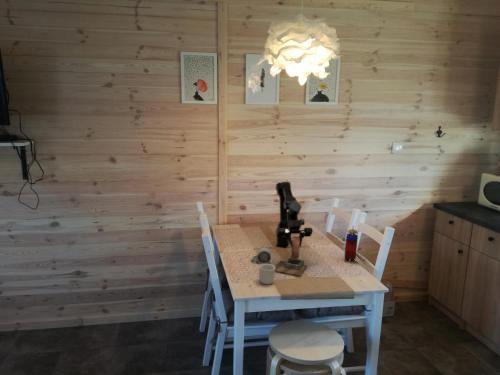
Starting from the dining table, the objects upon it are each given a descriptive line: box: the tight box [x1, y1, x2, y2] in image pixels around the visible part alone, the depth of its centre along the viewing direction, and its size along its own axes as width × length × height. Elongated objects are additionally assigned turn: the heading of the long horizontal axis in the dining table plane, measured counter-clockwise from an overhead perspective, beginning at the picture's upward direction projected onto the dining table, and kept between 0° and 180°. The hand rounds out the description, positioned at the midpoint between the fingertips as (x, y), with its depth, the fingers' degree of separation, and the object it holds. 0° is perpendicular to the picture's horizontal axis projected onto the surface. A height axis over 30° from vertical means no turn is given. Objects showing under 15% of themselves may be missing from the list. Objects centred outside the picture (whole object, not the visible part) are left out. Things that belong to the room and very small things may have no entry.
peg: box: [290, 236, 300, 260], centre depth 209 cm, size 4×4×11 cm
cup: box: [258, 263, 276, 285], centre depth 195 cm, size 11×8×8 cm
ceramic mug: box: [251, 246, 272, 265], centre depth 218 cm, size 11×8×8 cm
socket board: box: [274, 257, 308, 278], centre depth 209 cm, size 15×14×4 cm
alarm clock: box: [341, 225, 359, 263], centre depth 225 cm, size 15×9×20 cm, turn 163°
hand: (296, 246), depth 208 cm, fingers closed on peg, 4 cm apart
